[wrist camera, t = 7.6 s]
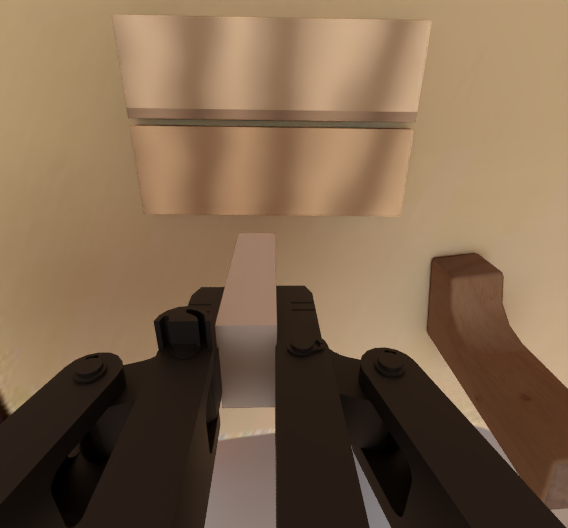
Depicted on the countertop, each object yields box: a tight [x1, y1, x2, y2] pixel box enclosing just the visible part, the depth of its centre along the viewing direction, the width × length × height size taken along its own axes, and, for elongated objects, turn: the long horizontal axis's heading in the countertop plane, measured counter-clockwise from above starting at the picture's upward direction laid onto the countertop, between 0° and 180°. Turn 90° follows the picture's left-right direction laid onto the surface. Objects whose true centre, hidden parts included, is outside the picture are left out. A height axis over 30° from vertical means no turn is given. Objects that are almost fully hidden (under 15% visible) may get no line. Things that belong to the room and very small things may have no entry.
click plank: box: [130, 125, 414, 216], centre depth 29 cm, size 22×7×2 cm, turn 89°
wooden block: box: [428, 254, 568, 510], centre depth 27 cm, size 9×4×18 cm, turn 7°
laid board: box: [112, 15, 432, 122], centre depth 26 cm, size 22×6×2 cm, turn 89°
